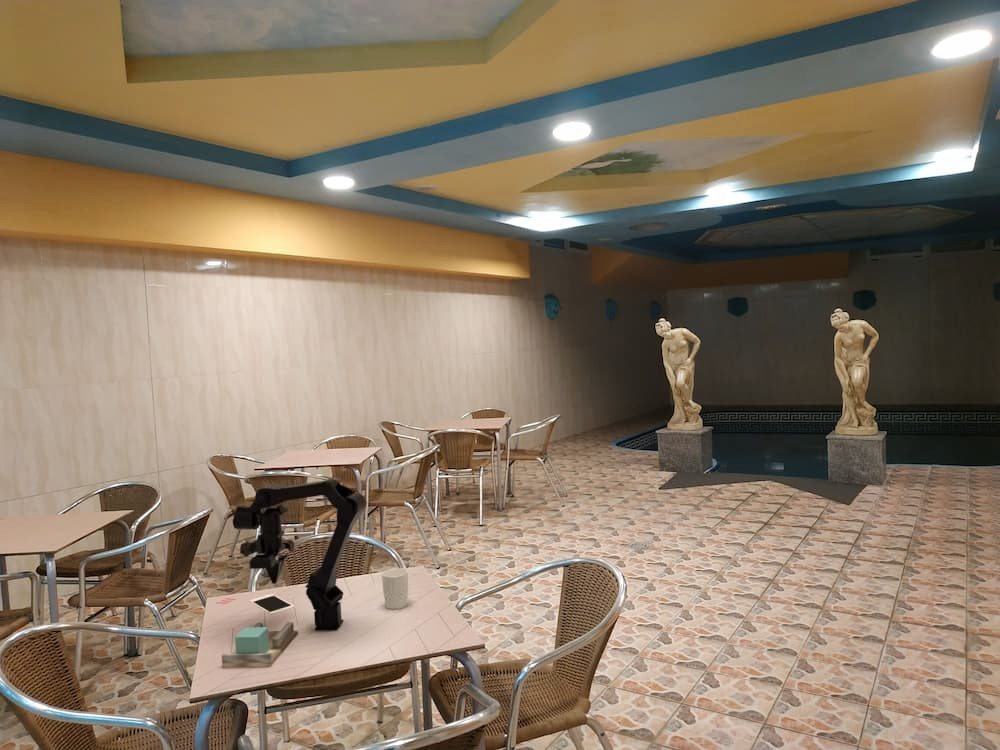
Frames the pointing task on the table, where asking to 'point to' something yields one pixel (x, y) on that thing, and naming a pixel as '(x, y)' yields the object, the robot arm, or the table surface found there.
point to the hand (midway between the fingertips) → (274, 583)
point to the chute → (276, 647)
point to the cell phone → (271, 603)
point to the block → (252, 640)
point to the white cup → (395, 588)
